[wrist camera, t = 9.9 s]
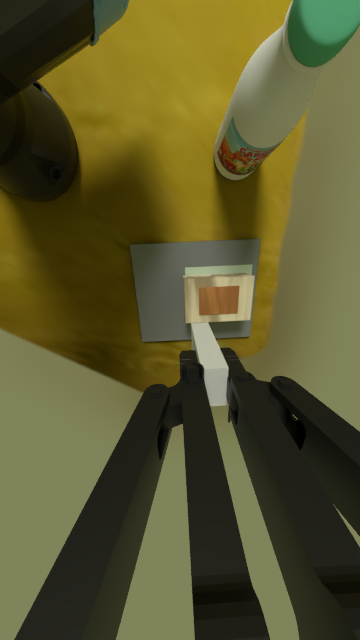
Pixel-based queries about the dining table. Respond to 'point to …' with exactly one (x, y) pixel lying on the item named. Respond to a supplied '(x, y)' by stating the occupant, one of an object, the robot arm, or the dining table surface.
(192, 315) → the maple block
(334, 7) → the milk bottle
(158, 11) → the dining table surface
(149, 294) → the topple mat
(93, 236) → the dining table surface
